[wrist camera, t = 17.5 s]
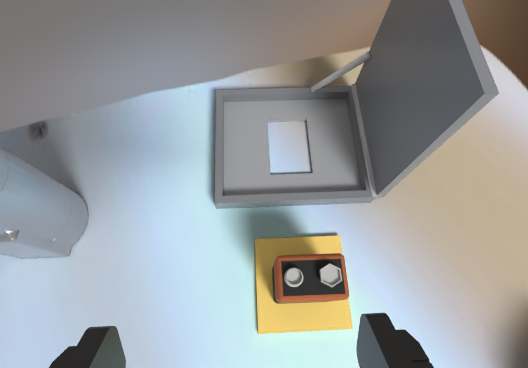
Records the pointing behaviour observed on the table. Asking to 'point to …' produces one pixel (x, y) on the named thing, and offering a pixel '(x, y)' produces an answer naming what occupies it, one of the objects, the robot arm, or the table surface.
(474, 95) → the equipment case
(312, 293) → the battery
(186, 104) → the table surface
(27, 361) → the table surface
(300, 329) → the yellow sticky note
